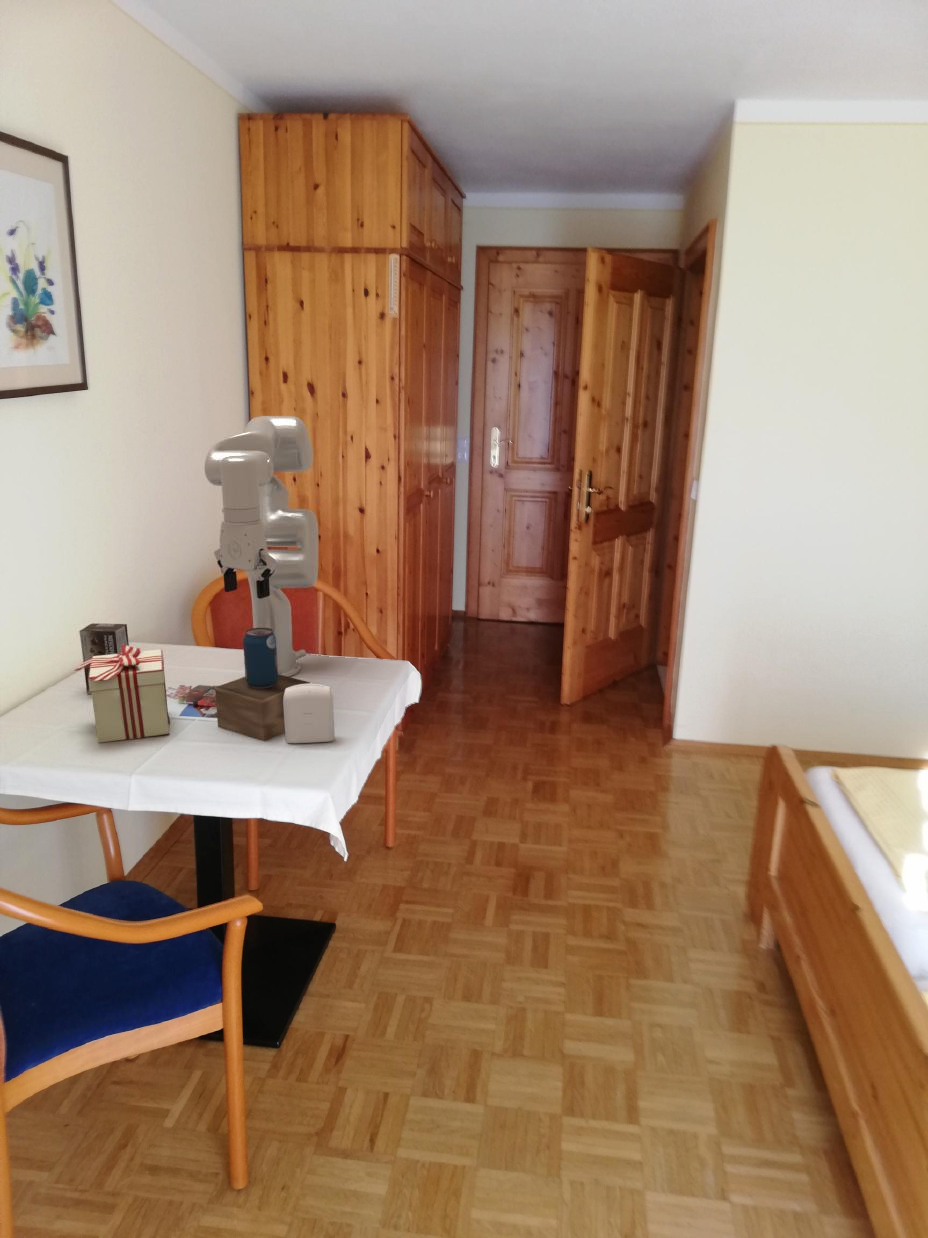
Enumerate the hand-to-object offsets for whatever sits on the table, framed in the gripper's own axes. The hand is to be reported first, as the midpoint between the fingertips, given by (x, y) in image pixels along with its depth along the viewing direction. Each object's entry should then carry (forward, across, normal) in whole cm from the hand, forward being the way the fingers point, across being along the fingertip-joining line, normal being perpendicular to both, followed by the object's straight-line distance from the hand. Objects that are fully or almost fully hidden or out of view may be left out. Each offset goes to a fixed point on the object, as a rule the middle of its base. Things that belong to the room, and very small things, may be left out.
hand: (247, 593), depth 200 cm
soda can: (+19, +5, -2) cm, 20 cm away
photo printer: (+28, +20, -4) cm, 35 cm away
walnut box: (+28, +5, -2) cm, 29 cm away
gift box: (+28, -17, -21) cm, 39 cm away
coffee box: (+29, -41, -7) cm, 51 cm away
